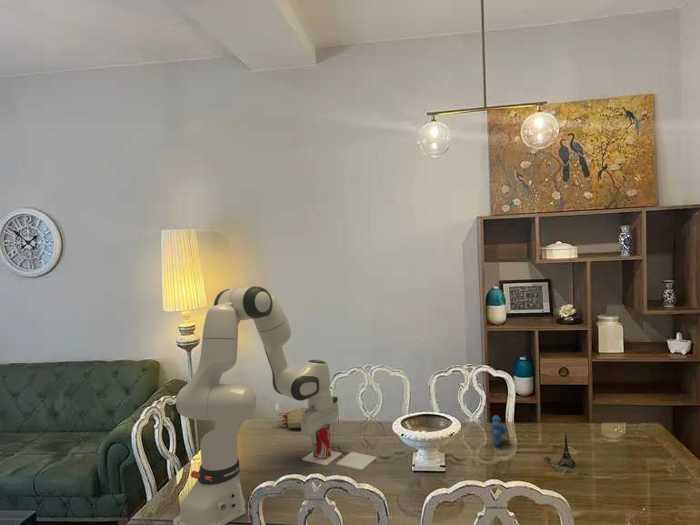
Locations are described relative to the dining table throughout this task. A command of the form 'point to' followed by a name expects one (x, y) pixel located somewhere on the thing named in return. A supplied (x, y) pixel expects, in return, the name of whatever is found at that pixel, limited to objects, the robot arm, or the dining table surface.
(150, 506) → the dining table surface
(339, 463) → the coaster
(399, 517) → the dining table surface
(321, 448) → the soda can
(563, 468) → the eiffel tower figurine
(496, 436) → the blue figurine
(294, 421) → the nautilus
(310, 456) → the card
